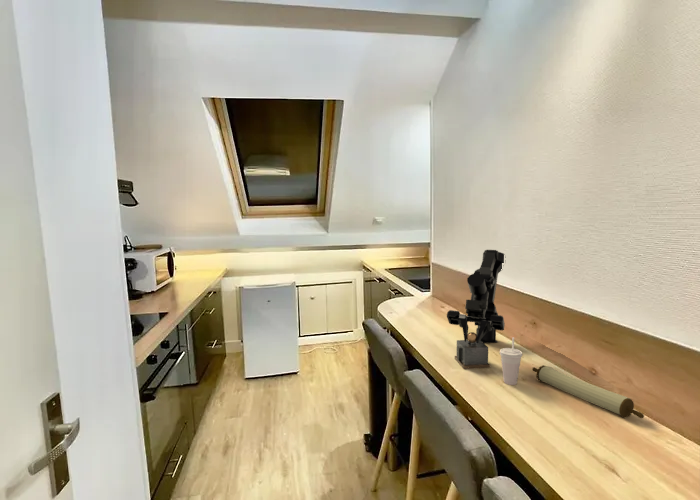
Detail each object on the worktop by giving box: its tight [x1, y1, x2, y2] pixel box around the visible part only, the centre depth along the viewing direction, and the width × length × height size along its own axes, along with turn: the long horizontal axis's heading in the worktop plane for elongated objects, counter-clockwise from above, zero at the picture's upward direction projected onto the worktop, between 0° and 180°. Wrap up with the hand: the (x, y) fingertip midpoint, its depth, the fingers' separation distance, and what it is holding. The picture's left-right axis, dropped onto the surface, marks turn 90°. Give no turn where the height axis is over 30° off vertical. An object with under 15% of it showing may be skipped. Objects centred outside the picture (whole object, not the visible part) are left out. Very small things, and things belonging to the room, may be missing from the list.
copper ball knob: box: [467, 331, 477, 345], centre depth 137 cm, size 6×6×9 cm
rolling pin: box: [531, 365, 645, 419], centre depth 112 cm, size 32×6×5 cm, turn 25°
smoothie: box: [499, 336, 523, 386], centre depth 122 cm, size 6×6×14 cm
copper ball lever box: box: [454, 339, 491, 370], centre depth 138 cm, size 9×9×7 cm
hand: (471, 341), depth 136 cm, fingers closed on copper ball knob, 4 cm apart
